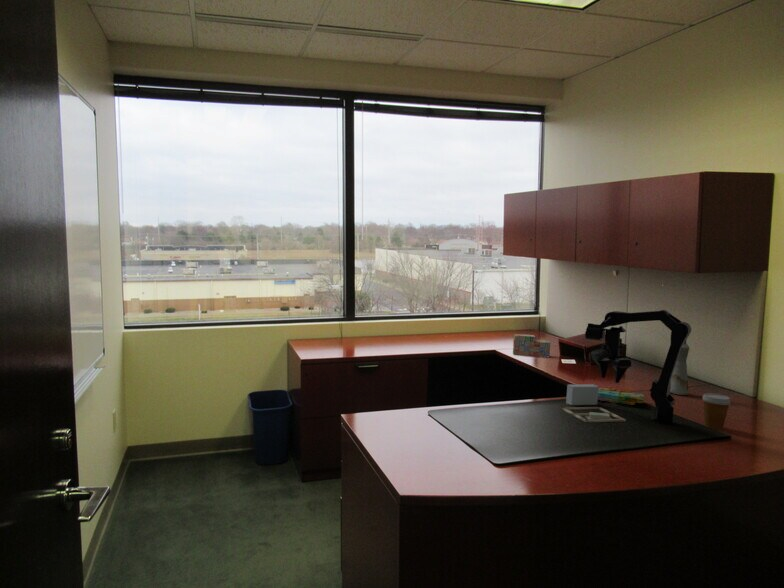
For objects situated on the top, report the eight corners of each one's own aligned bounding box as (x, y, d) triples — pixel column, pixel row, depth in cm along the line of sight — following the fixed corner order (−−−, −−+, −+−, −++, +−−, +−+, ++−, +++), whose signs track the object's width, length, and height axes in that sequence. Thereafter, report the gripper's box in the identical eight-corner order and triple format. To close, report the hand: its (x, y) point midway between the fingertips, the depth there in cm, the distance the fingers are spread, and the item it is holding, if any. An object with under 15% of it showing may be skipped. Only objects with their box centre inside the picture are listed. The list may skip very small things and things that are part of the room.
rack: (625, 424, 220) (626, 419, 219) (585, 425, 215) (585, 420, 215) (599, 411, 236) (599, 406, 236) (561, 412, 232) (561, 407, 232)
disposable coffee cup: (713, 431, 217) (716, 399, 216) (693, 423, 226) (696, 393, 225) (733, 430, 219) (737, 399, 218) (713, 422, 228) (716, 392, 227)
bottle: (662, 391, 277) (668, 333, 275) (677, 390, 280) (682, 333, 278) (677, 396, 269) (683, 336, 267) (692, 395, 272) (698, 336, 270)
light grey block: (596, 408, 242) (598, 386, 241) (571, 408, 239) (572, 387, 238) (591, 405, 246) (593, 384, 245) (565, 405, 243) (567, 384, 242)
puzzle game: (596, 385, 263) (644, 392, 255) (595, 395, 264) (643, 402, 256) (593, 390, 253) (644, 398, 244) (593, 401, 253) (643, 409, 245)
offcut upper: (609, 420, 220) (610, 416, 220) (590, 418, 221) (590, 414, 221) (608, 417, 223) (608, 413, 223) (589, 415, 224) (589, 411, 224)
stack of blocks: (547, 355, 358) (549, 336, 357) (549, 357, 352) (551, 337, 351) (512, 353, 360) (513, 333, 359) (513, 355, 354) (514, 335, 353)
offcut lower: (613, 425, 220) (613, 420, 220) (587, 424, 220) (587, 419, 220) (609, 422, 224) (609, 416, 224) (583, 421, 224) (583, 415, 224)
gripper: (581, 338, 244) (579, 375, 245) (608, 346, 226) (606, 386, 227) (605, 338, 246) (602, 375, 248) (633, 345, 228) (631, 385, 230)
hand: (609, 380), depth 238 cm, fingers open, 9 cm apart
